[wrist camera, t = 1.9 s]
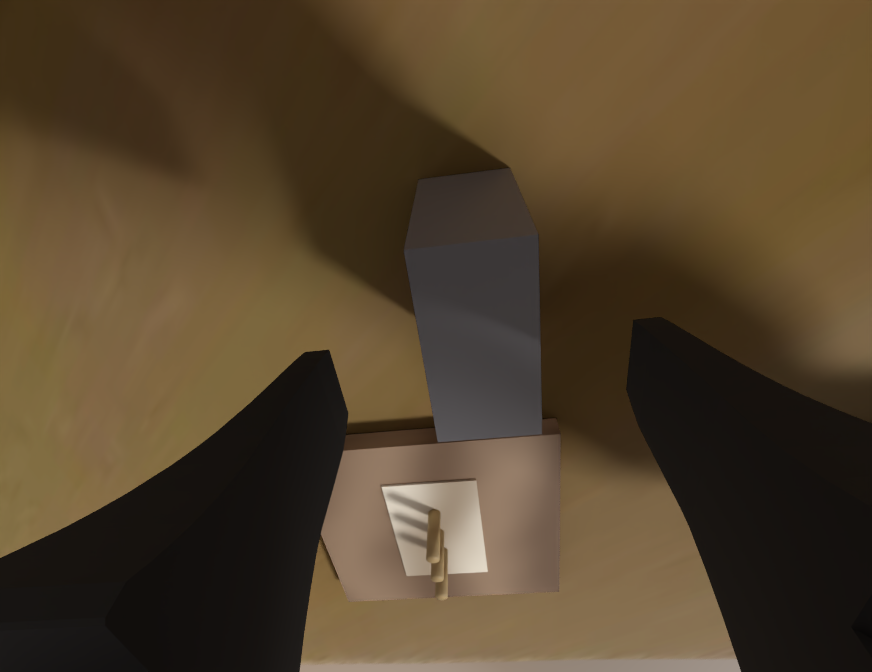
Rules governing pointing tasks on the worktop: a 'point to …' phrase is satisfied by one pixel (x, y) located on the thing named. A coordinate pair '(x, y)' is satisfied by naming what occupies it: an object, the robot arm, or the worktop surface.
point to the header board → (445, 515)
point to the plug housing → (477, 304)
